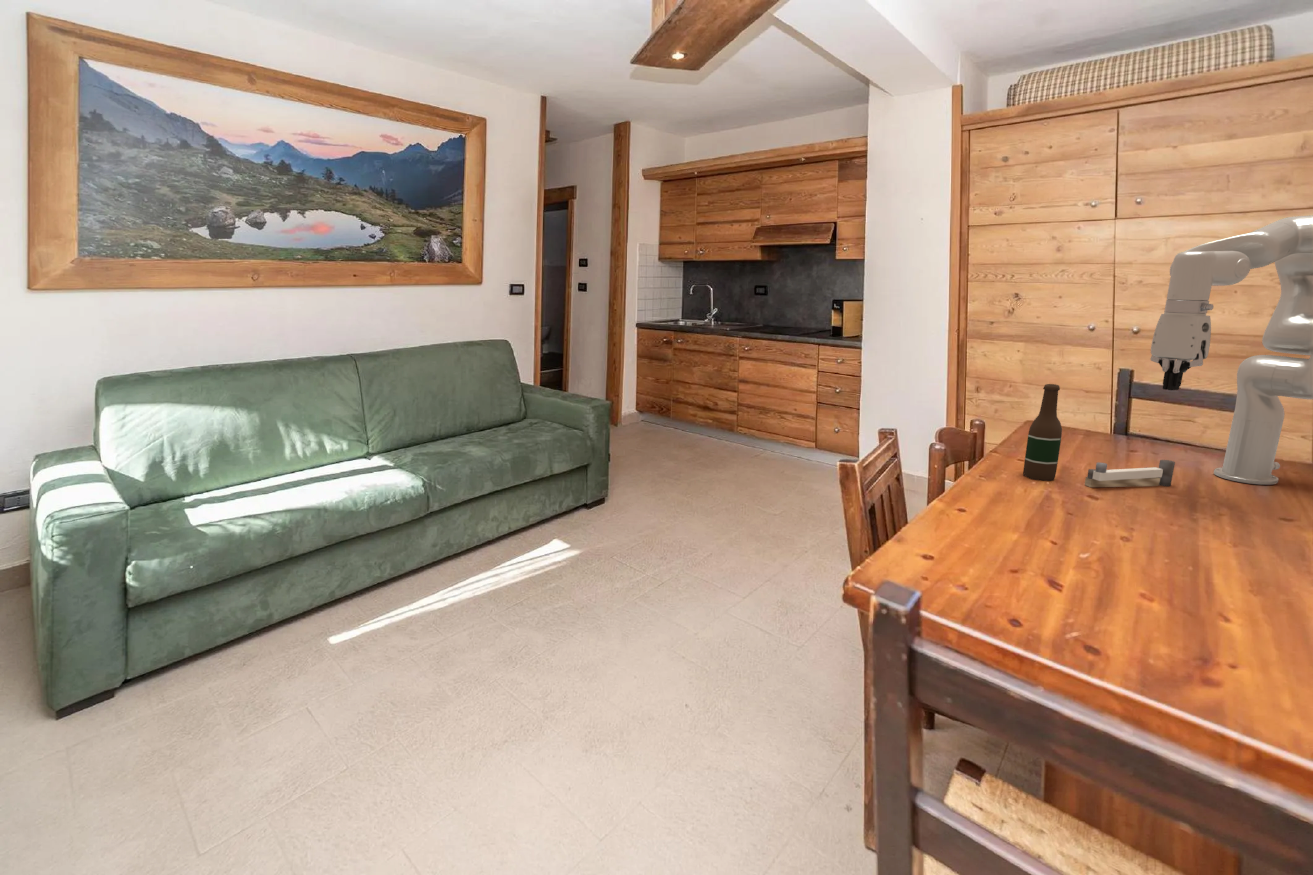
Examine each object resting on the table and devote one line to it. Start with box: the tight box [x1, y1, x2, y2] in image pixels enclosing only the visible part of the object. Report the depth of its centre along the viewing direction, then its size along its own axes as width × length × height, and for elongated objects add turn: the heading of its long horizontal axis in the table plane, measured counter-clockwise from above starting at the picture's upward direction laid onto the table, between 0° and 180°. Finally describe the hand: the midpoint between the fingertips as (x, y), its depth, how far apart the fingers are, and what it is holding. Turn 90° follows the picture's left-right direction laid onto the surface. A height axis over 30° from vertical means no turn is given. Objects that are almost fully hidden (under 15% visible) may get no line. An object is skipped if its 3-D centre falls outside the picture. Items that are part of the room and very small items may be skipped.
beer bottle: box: [1022, 383, 1063, 482], centre depth 170 cm, size 8×8×24 cm
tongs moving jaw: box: [1092, 461, 1163, 481], centre depth 164 cm, size 18×2×4 cm, turn 101°
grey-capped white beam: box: [1084, 459, 1176, 488], centre depth 166 cm, size 22×3×6 cm, turn 95°
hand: (1170, 389), depth 155 cm, fingers closed
